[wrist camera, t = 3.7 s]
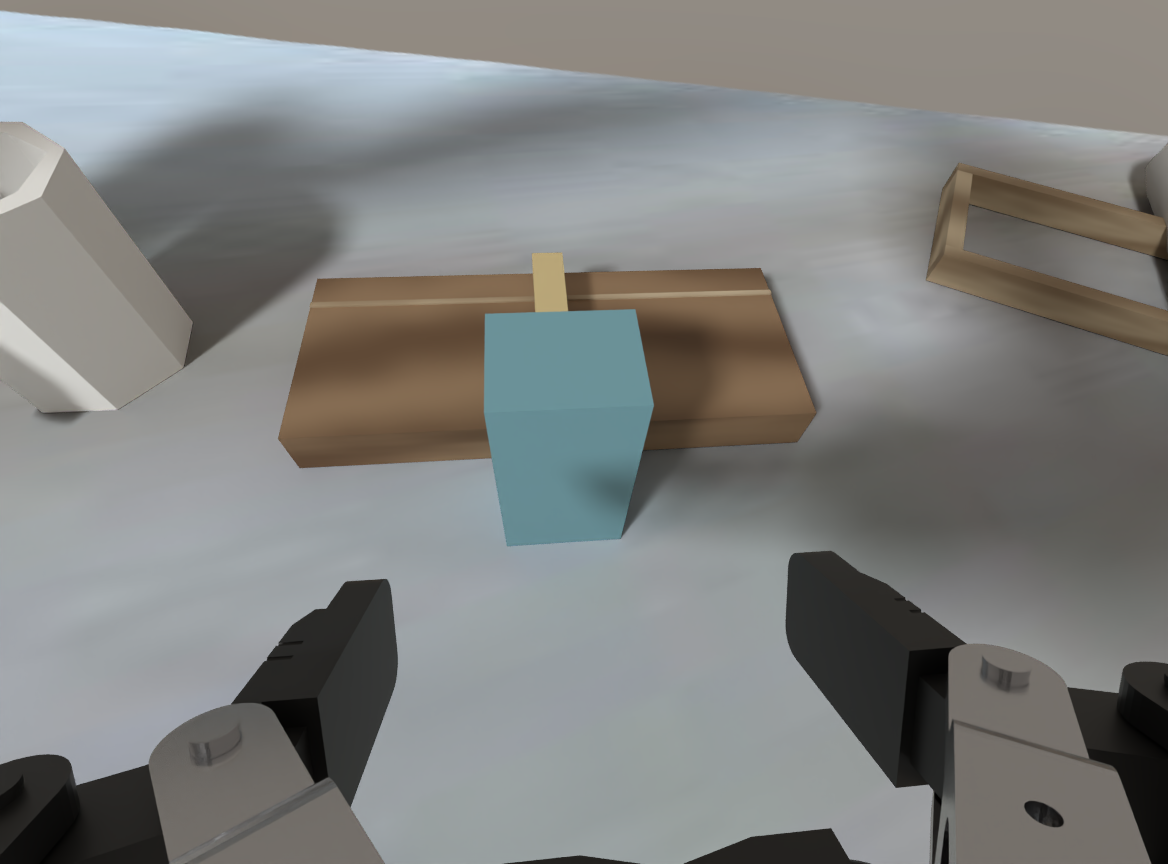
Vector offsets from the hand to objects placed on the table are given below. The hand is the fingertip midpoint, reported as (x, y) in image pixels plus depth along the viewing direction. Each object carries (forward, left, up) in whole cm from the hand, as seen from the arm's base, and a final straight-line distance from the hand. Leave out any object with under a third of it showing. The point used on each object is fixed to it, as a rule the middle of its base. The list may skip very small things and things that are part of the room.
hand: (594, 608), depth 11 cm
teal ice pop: (+11, +7, -12) cm, 18 cm away
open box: (+14, +8, -12) cm, 20 cm away
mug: (+3, +29, -12) cm, 32 cm away
